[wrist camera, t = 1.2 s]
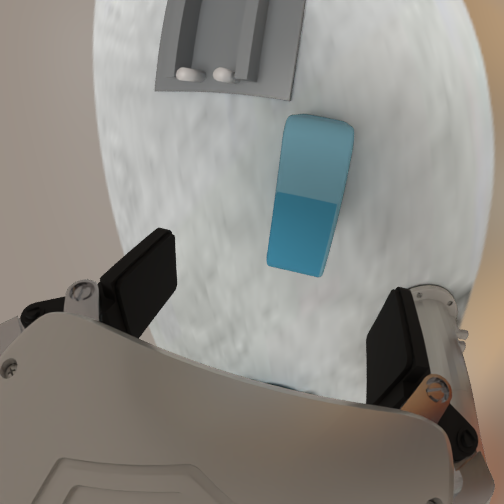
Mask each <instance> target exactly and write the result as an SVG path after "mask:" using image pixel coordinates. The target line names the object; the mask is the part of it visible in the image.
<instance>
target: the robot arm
mask: <svg viewBox="0 0 504 504" xmlns="http://www.w3.org/2000/svg"><path fill="white" fill-rule="evenodd" d="M176 287H177V272H176V253H175V236H174V235H173V234H172V232H171V231H170V230H167V229H163V228H157V229H156V230H155V231H153V232H152V233H151V234H150V235H148V236H147V237H146V238H145V239H144V240H142V241H141V242H140V243H139V244H138V245H137V246H135V247H134V248H133V249H132V250H131V251H130V252H128V253H127V254H126V255H125V256H124V257H123V258H122V259H120V260H119V261H118V262H117V263H116V264H115V265H114V266H113V267H111V268H110V269H109V270H108V271H107V272H106V273H105V274H104V275H103V276H102V277H101V278H100V282H99V283H98V284H97V283H96V282H94V281H92V280H88V279H87V280H80V281H77V282H75V283H73V284H72V285H71V286H70V287H69V288H68V289H67V292H66V296H65V297H61V298H56V299H51V300H47V301H41V302H37V303H33V304H31V305H29V306H27V307H26V308H25V309H24V310H23V312H22V314H21V317H20V318H18V316H16V317H14V318H12V319H10V320H8V321H6V322H4V323H2V324H0V504H489V503H490V500H491V497H492V495H493V492H494V487H495V484H494V480H493V478H492V475H491V473H490V471H489V469H488V466H487V462H486V457H485V454H484V449H483V444H482V439H481V435H480V430H479V424H478V419H477V414H476V409H475V403H474V398H473V393H472V389H471V384H470V380H469V376H468V372H467V368H466V365H465V361H464V357H463V354H462V353H463V351H464V350H465V346H466V345H465V342H464V341H458V338H459V339H464V340H465V339H467V337H468V331H466V330H460V329H458V326H457V324H456V319H457V314H458V310H457V305H456V302H455V300H454V298H453V296H452V295H451V294H450V293H449V292H448V291H447V290H445V289H444V288H442V287H438V286H433V285H424V286H418V287H414V288H411V289H405V288H401V287H397V288H396V289H395V290H394V289H393V290H391V292H390V294H389V296H388V298H387V300H386V302H385V304H384V306H383V308H382V310H381V311H380V313H379V315H378V317H377V319H376V321H375V322H374V324H373V326H372V328H371V329H370V331H369V333H368V335H367V339H366V353H367V394H366V404H363V403H356V402H350V401H345V400H339V399H334V398H328V397H323V396H318V395H313V394H308V393H304V392H299V391H295V390H291V389H286V388H282V387H278V386H274V385H271V384H267V383H263V382H259V381H256V380H252V379H249V378H245V377H242V376H239V375H235V374H232V373H229V372H226V371H223V370H219V369H216V368H213V367H210V366H208V365H205V364H202V363H199V362H196V361H193V360H191V359H188V358H185V357H182V356H180V355H177V354H174V353H172V352H169V351H167V350H164V349H162V348H159V347H157V346H154V345H152V344H150V343H147V342H145V341H142V340H140V339H139V337H140V336H141V335H142V333H143V332H144V330H145V329H146V328H147V327H148V325H149V324H150V323H151V321H152V320H153V319H154V317H155V316H156V315H157V313H158V312H159V311H160V310H161V308H162V307H163V306H164V304H165V303H166V302H167V300H168V299H169V298H170V297H171V295H172V294H173V293H174V291H175V290H176Z"/></svg>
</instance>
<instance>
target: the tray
mask: <svg viewBox="0 0 504 504" xmlns="http://www.w3.org/2000/svg"><path fill="white" fill-rule="evenodd" d="M304 7H305V0H168V1H167V6H166V11H165V16H164V22H163V28H162V34H161V40H160V47H159V55H158V63H157V71H156V81H155V91H197V92H218V93H232V94H243V95H252V96H260V97H268V98H275V99H281V100H287V101H290V100H291V94H292V88H293V81H294V75H295V68H296V62H297V55H298V48H299V42H300V35H301V28H302V21H303V14H304Z"/></svg>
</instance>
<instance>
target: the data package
mask: <svg viewBox="0 0 504 504" xmlns="http://www.w3.org/2000/svg"><path fill="white" fill-rule="evenodd" d="M353 143H354V129H353V127H351V126H350V125H349V124H347V123H346V122H344V121H339V120H335V119H330V118H325V117H319V116H314V115H308V114H298V115H291V116H289V117H288V118H287V121H286V124H285V128H284V132H283V139H282V147H281V155H280V163H279V170H278V178H277V186H276V193H275V201H274V208H273V216H272V223H271V230H270V237H269V245H268V252H267V264H268V265H269V266H271V267H276V268H280V269H284V270H289V271H293V272H297V273H302V274H306V275H310V276H315V277H321V276H322V274H323V272H324V269H325V265H326V262H327V258H328V254H329V251H330V247H331V243H332V239H333V236H334V232H335V228H336V224H337V220H338V215H339V211H340V207H341V203H342V198H343V194H344V189H345V185H346V180H347V175H348V171H349V166H350V161H351V155H352V150H353Z"/></svg>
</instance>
